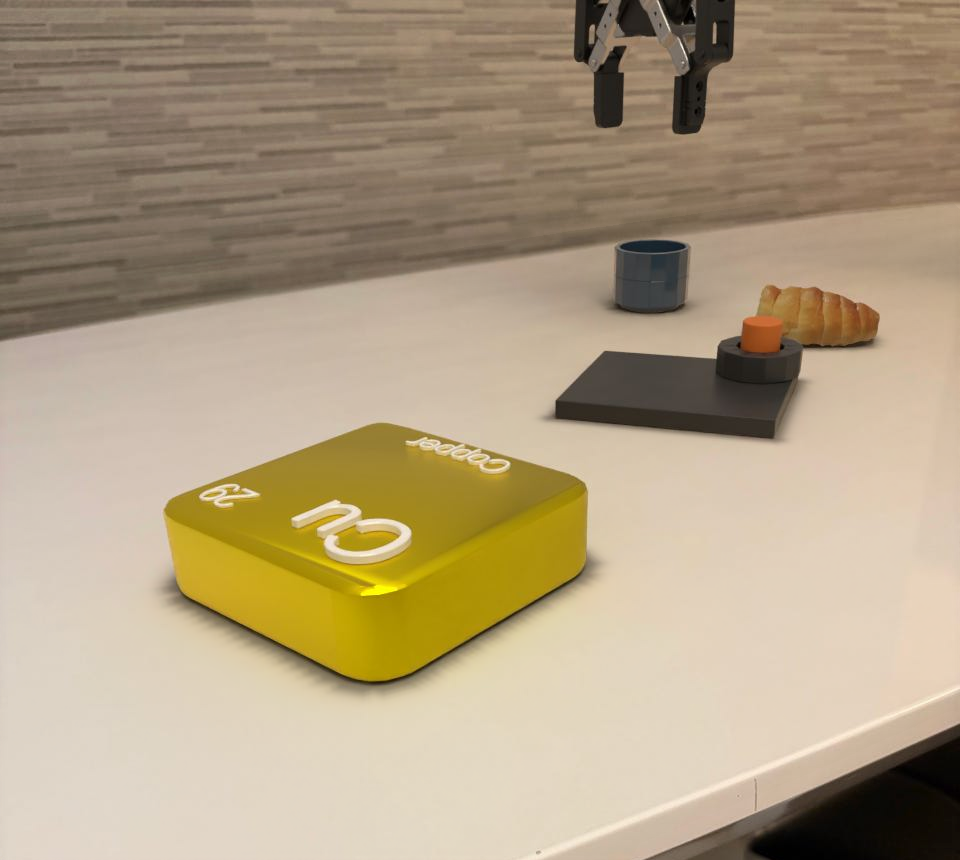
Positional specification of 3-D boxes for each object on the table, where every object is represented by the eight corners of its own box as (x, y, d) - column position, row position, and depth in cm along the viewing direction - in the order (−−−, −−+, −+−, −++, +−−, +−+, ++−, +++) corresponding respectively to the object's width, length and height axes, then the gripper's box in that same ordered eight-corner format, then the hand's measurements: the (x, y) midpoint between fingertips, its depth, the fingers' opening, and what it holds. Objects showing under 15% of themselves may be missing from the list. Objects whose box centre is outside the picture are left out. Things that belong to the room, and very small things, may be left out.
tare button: (782, 347, 74) (785, 317, 73) (776, 357, 72) (780, 326, 71) (743, 344, 74) (746, 314, 73) (737, 354, 72) (740, 324, 71)
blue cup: (693, 298, 97) (696, 240, 95) (678, 316, 92) (681, 255, 89) (623, 295, 99) (625, 238, 97) (605, 311, 94) (606, 252, 92)
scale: (801, 380, 76) (807, 337, 74) (777, 439, 66) (783, 391, 64) (604, 365, 80) (605, 324, 79) (554, 418, 70) (555, 372, 69)
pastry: (877, 329, 86) (884, 280, 84) (875, 353, 81) (883, 301, 79) (757, 323, 89) (762, 276, 87) (747, 346, 84) (752, 296, 82)
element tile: (603, 564, 52) (606, 470, 50) (378, 698, 42) (367, 590, 40) (387, 490, 61) (381, 407, 58) (160, 587, 51) (141, 494, 49)
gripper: (776, -149, 69) (753, 131, 77) (628, -125, 79) (621, 121, 87) (690, -153, 65) (675, 141, 73) (546, -127, 75) (547, 129, 84)
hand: (645, 130), depth 80 cm, fingers open, 8 cm apart
